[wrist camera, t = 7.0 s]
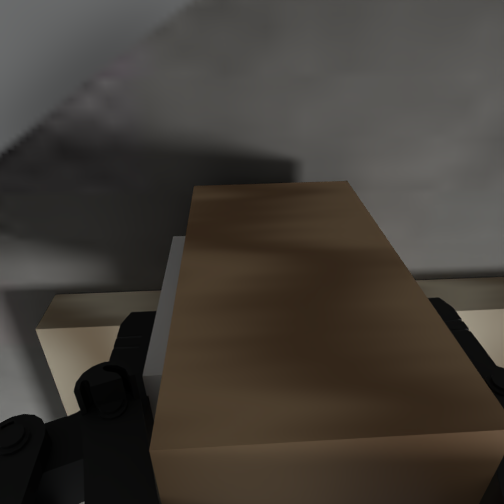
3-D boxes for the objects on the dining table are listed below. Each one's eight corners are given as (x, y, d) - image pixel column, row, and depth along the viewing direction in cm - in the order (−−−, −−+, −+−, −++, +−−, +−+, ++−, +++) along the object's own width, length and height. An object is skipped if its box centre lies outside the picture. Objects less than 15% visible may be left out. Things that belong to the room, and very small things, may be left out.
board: (103, 444, 26) (92, 484, 24) (55, 294, 20) (35, 329, 18) (555, 419, 28) (583, 454, 25) (641, 271, 21) (689, 301, 19)
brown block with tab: (216, 440, 24) (211, 717, 15) (193, 185, 16) (149, 450, 6) (317, 434, 24) (375, 703, 15) (347, 181, 16) (518, 429, 7)
